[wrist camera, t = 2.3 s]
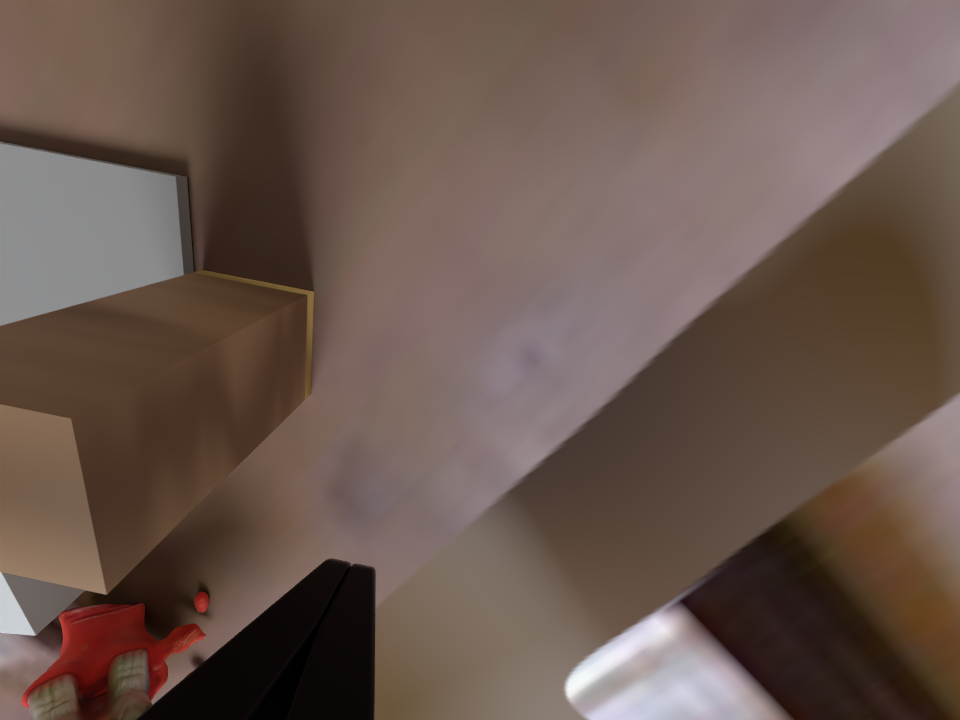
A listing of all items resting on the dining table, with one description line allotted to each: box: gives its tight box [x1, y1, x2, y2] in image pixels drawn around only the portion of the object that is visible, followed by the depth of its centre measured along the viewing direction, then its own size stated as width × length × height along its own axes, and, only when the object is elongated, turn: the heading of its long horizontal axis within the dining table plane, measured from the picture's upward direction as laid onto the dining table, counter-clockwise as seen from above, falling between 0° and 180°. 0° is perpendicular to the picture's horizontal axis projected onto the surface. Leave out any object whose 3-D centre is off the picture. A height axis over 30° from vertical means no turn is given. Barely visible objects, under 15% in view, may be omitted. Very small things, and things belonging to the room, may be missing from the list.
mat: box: [0, 141, 194, 326], centre depth 16 cm, size 10×10×1 cm
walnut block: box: [0, 270, 314, 595], centre depth 12 cm, size 4×4×9 cm
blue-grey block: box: [0, 572, 85, 635], centre depth 19 cm, size 4×4×6 cm
